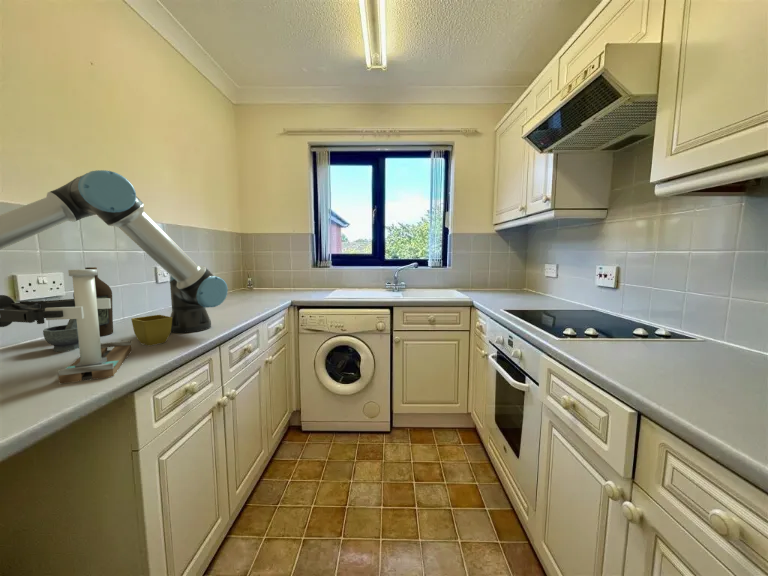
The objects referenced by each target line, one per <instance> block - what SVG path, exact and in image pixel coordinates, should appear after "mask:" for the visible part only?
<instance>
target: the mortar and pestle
mask: <svg viewBox="0 0 768 576" xmlns="http://www.w3.org/2000/svg"><path fill="white" fill-rule="evenodd" d="M42 334H43V338H44V340H45V341H46V342H47V343H48V344H49V345H51V346H53V352H57V351H60V352H68V350H69V351H74V350H77V349H79V340H78V329H77V319H68V322H67V323H66V324H62V325H56V326H55V325H54V326H50V327H47V328H44V329H43V330H42ZM73 349H74V350H73Z"/></svg>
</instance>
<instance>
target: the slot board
mask: <svg viewBox="0 0 768 576" xmlns="http://www.w3.org/2000/svg"><path fill="white" fill-rule="evenodd" d="M100 344H101V355H102V358H104V357H107V361H106V363H105V364H101V365H92V366H84V367H76V368H75V366H76V365H77V364H78V363H79V362H80V361H81V360H80V356H79V357H78V358H77V359H76V360H74V361H73V363H71V364H70V365H68V366H67V367H65V368H60V369H59V370H57V375H58V376H57V377H58V384H59V385H62V384H68V383H69V384H70V383H77V382H84V381H89V380H90V379H91V380H97V378H98V379H104V378H105V377H106V378H112V377H111V376H113V377H115V375H116V374H115V373H118V371H119V369H120V368H121V367H120V366H122V365H123V364H124V362H125V361H126V360H127V358H128V357H129V355H130V354H131V353H132V351H133V345H132V340H122V341H112V342H105V343H101V342H100ZM108 348H112V349H110V350H109V349H108ZM130 352H131V353H130ZM127 356H128V357H127ZM125 359H126V360H125ZM122 363H123V364H122ZM117 370H118V371H117ZM114 374H115V375H114Z"/></svg>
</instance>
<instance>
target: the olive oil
mask: <svg viewBox="0 0 768 576" xmlns="http://www.w3.org/2000/svg"><path fill="white" fill-rule="evenodd" d="M84 269H97V274H98V267H96V266H94V267H93V266H92V267H84ZM98 275H99V274H98ZM98 275H96V276H95V288H96V299H105V298H110V301H111V308H110V309H97V310H98V321H99V332H100V337H105V336H109V335H111V334H113V333H114V321H113V320H114V319H113V316H114V315H113V291H112V289H111V287H110V286H109V284H107V283H106V282H105V281H103V280H101V279H100V278H99V276H98ZM72 297H73V299H75V298H74V292H73V295H72Z"/></svg>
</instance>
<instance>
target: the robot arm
mask: <svg viewBox="0 0 768 576" xmlns="http://www.w3.org/2000/svg"><path fill="white" fill-rule="evenodd" d="M144 204H145V203H144V202H143V201H142V200H141V199H140V198H139V197H138V196H137V192H136V190H135V187H134V185H133V184H132V183H131V182H130V180H128V179H127V177H125V176H123V175H121V174H119V173H117V172H114V171H111V170H104V169H103V170H102V169H101V170H98V169H97V170H92V171H89V172H86V173H85V174H83V175H80V176H76V177H75V178H74V179H72V180H71V181H69V182H67V183H66V184H63V185H62V186H60V187H58V188H55V189H53V190H51V191H48V192H47V193H46V197H43V198H41V199H37V200H36V201H33V202H31V203H27V204H25V205H23V206H19V207H17V208H14V209H11V210H9V211H7V212H4V213H2V214H0V250H3V249H5V248H8V247H10V246H12V245H14V244H16V243H19V242H21V241H24V240H26V239H28V238H30V237H33V236H35V235H36V236H37V234H40V233H43V232H44V231H47V230H49V229H52V228H54V227H57V226H59V225H61V224H64V223H65V222H68V221H69V222H71V223H74V222H77V221H80V220H83V219H85V218H88V217H91V216H97V217H98V218H100V220H101V221H103V222H104V223H105V225H107V226H109V227H116V228H118V229H120V230H121V232H123V233H124V234H125V235H126V236H127V237H128V238H130V240H131V241H133V242H134V243H135V244H136V245H137V246H138V247H139V248H140V249H141V250H143V252H145V254H147V255H148V256H149V258H151V259H153V261H155V263H156V264H157V265H159V266H160V267H161V268H162V269H163V270H164V271H165V272H166V273H167V274H169V285H170V300H171V301H170V302H171V314H170V316H169V317H172V326H171V332H170V333H181V334H182V333H192V332H193V333H194V332H200V331H205V330H209V329H210V328H212V321H211V318H210V315H209V313H208V311H207V308H216V307H218V306H220V305H221V304H223V303H224V301H226V298H227V296H228V292H229V291H228V290H229V287H228V284H227V282H226V281H225V280H224V279H223V278H221V277H219V276H216V275H214V274H213V273H212V272H211V271H210V270H209V269H208V268H207V267H206V266H204V265H197V263H196V262H195V261H194V260H193V259H192V258H191V257H190V256H189V255H188V254H187V253H186V252H185V251H184V250H183V249H182V248H181V247H180V246H179V245H178V244H177V243H176V242H175V241H174V240H173V239H172V237H170V236H169V235H168V234H167V233H166V232H165V231H164V230H163V229H162V228H161V227H160V226H159V224H158V223H156V222H155V221H154V219H152V218H151V217H150V216H149V215H148V214H147V213H146V211H145V210H144V208H145V207H144V206H145V205H144ZM110 308H111V301H110V298H105V299H97V309H110ZM82 318H84V313H83V307H75V299H74V298H69V299H68V298H67V299H53V300H36V301H35V300H30V301H29V300H24V301H22V300H21V301H19V302H15V301H14V299H13V298H12V297H11V296H9V295H5V294H4V295H3V294H0V328H5V327H8V326H10V325H11V324H12V323H29V324H32V323H35V322H36V325H42V324H45V322H46V321H57V320H58V321H59V320H69V319H82Z"/></svg>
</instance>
